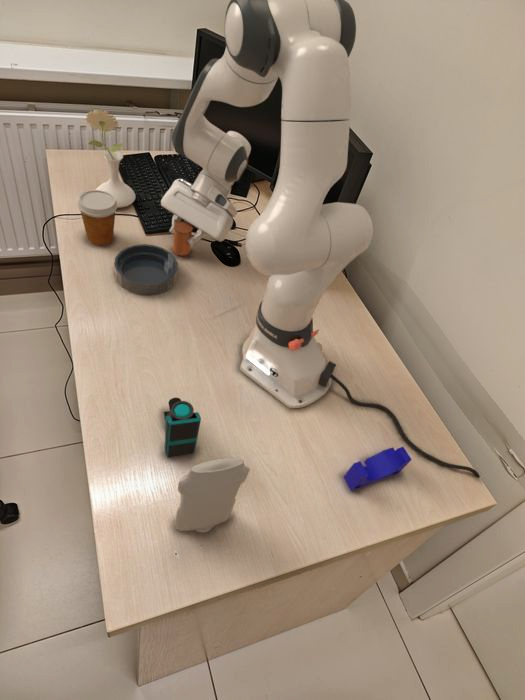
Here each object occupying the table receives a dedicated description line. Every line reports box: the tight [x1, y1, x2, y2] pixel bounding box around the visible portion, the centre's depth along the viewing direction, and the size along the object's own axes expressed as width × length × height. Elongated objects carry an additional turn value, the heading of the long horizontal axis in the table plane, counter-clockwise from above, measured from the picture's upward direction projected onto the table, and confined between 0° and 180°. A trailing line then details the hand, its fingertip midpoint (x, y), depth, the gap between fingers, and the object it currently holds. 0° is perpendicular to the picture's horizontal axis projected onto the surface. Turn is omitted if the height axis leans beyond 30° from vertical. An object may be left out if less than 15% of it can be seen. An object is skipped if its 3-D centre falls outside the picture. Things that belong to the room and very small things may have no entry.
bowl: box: [113, 243, 179, 296], centre depth 116 cm, size 15×15×4 cm
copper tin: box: [172, 221, 194, 256], centre depth 122 cm, size 5×5×8 cm
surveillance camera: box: [163, 397, 202, 458], centre depth 86 cm, size 6×12×10 cm
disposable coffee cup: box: [76, 189, 118, 246], centre depth 119 cm, size 10×10×12 cm
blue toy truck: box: [343, 446, 413, 492], centre depth 91 cm, size 12×4×6 cm, turn 114°
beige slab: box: [174, 457, 250, 534], centre depth 72 cm, size 11×4×22 cm, turn 107°
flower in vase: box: [84, 109, 137, 209], centre depth 126 cm, size 13×11×25 cm
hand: (181, 238), depth 122 cm, fingers closed on copper tin, 4 cm apart
